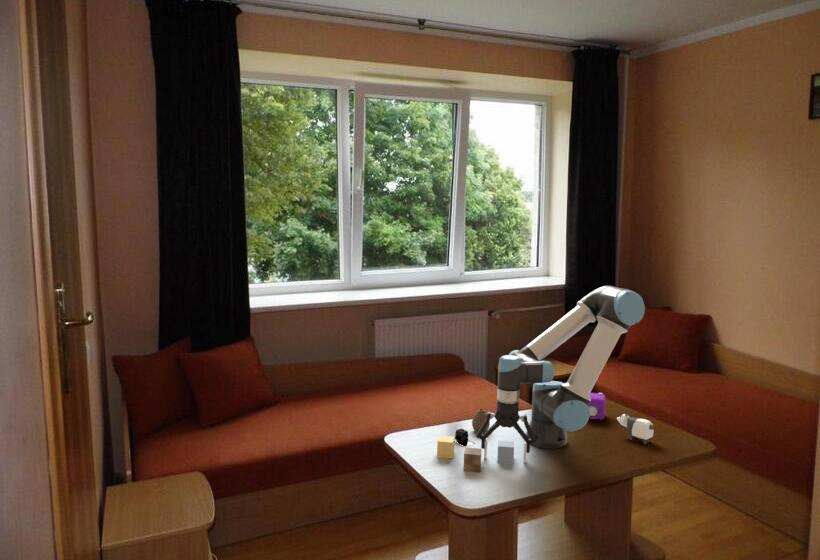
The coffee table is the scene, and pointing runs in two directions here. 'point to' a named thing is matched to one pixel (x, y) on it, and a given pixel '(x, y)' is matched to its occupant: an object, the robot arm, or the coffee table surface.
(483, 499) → the coffee table surface
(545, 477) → the coffee table surface
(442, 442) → the yellow cube
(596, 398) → the toy camera
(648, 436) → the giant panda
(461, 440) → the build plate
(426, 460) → the coffee table surface
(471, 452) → the walnut brick
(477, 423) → the vase
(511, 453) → the gray brick
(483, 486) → the coffee table surface
